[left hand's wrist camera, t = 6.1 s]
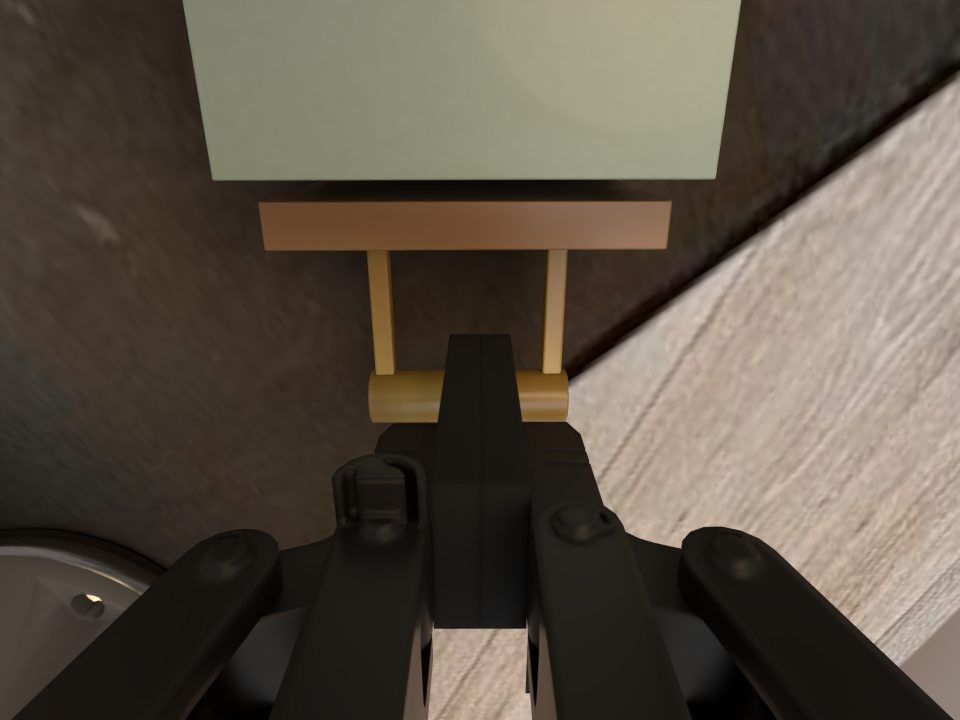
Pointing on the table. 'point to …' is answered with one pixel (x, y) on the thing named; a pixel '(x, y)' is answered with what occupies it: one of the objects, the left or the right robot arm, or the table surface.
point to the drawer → (464, 226)
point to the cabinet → (462, 88)
